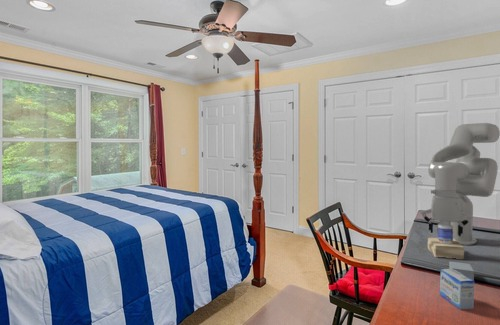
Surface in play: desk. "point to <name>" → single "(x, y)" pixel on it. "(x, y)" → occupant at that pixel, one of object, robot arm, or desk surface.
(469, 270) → the grey block
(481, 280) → the desk surface
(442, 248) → the oak block
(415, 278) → the desk surface
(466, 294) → the medicine box
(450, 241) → the pill bottle
